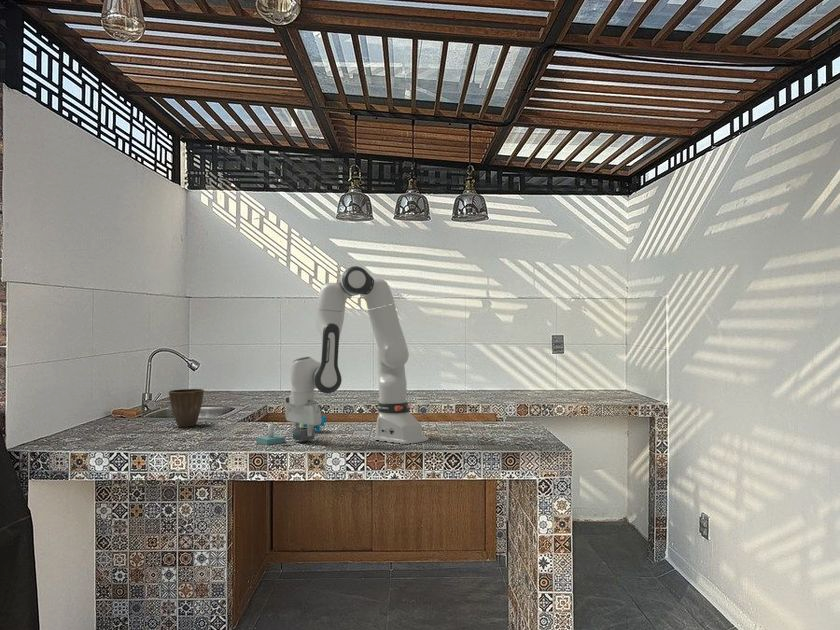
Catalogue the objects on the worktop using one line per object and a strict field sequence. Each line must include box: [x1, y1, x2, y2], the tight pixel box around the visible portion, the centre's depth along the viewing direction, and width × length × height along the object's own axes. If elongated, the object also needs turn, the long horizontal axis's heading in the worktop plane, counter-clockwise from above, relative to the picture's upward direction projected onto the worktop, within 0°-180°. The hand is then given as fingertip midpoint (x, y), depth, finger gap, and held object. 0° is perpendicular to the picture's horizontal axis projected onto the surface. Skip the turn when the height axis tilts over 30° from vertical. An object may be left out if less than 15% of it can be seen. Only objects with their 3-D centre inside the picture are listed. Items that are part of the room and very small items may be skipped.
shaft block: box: [255, 423, 286, 446], centre depth 252 cm, size 8×8×7 cm
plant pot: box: [168, 388, 205, 428], centre depth 292 cm, size 15×15×16 cm
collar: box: [292, 426, 316, 442], centre depth 252 cm, size 6×6×4 cm
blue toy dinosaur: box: [300, 414, 327, 434], centre depth 273 cm, size 11×6×10 cm
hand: (303, 434), depth 252 cm, fingers closed on collar, 6 cm apart
